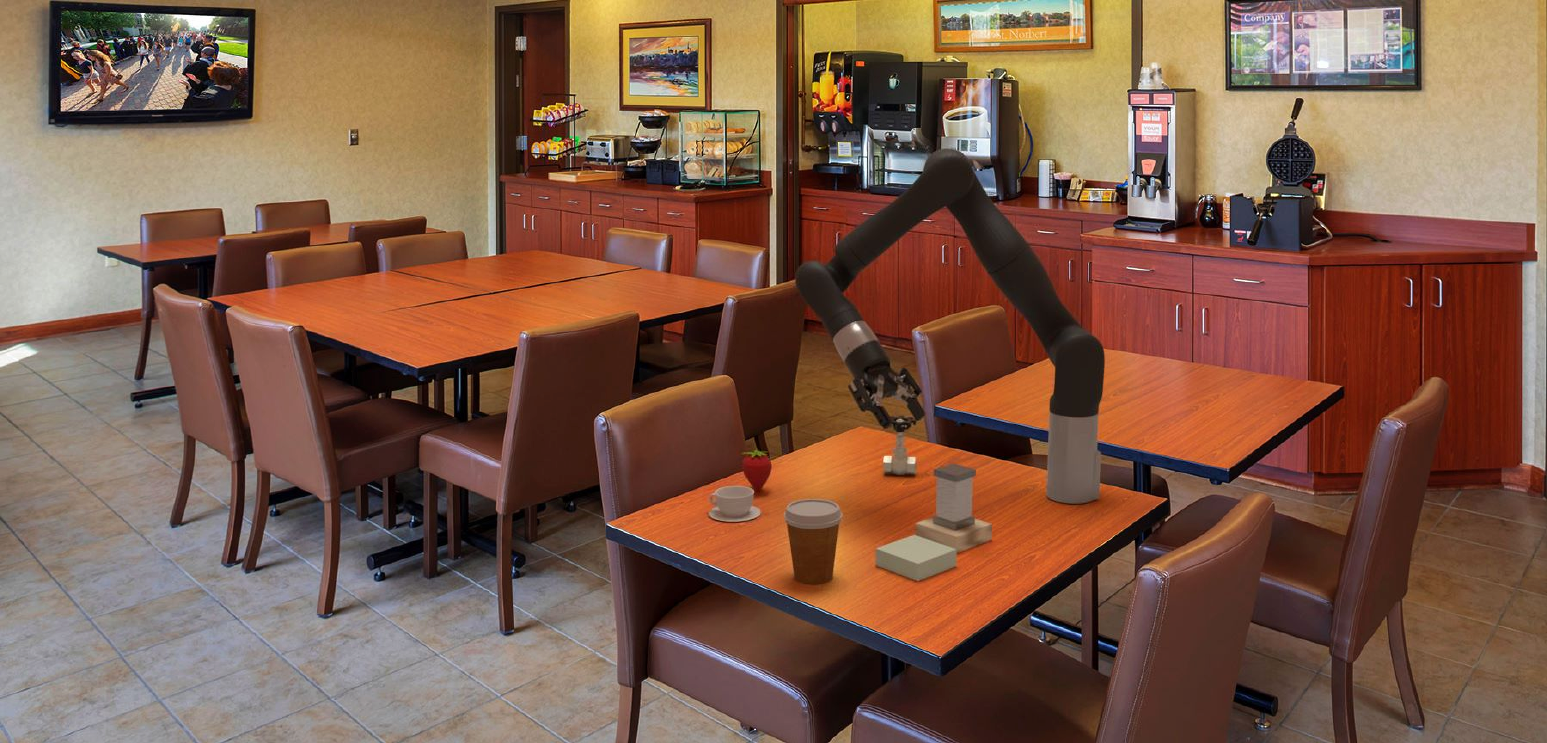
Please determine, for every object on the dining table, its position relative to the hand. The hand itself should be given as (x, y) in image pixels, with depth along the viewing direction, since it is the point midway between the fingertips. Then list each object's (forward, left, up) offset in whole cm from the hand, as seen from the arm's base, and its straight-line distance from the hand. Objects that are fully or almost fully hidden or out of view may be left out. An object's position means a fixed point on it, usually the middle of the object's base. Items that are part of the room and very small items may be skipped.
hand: (905, 422), depth 216 cm
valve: (-8, -29, -20) cm, 36 cm away
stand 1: (+4, +20, -19) cm, 28 cm away
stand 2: (-6, +10, -19) cm, 23 cm away
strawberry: (+23, -25, -20) cm, 39 cm away
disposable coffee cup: (+22, +21, -20) cm, 36 cm away
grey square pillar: (-6, +10, -16) cm, 20 cm away
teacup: (+30, -13, -20) cm, 38 cm away
